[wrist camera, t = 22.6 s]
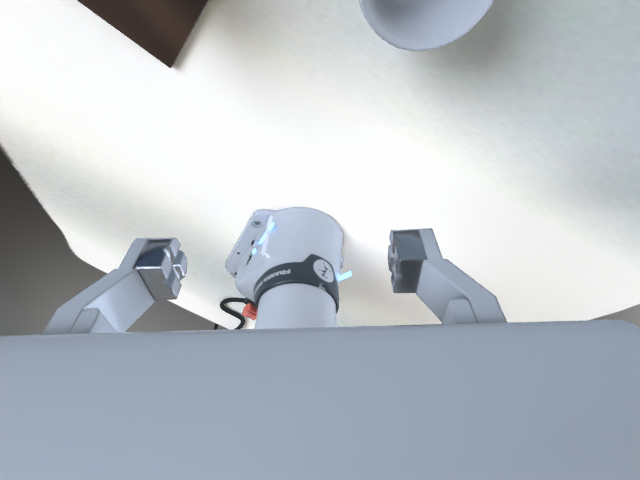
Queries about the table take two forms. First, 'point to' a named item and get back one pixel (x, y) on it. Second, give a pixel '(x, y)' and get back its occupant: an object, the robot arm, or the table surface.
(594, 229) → the table surface
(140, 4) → the mat
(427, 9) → the teacup
